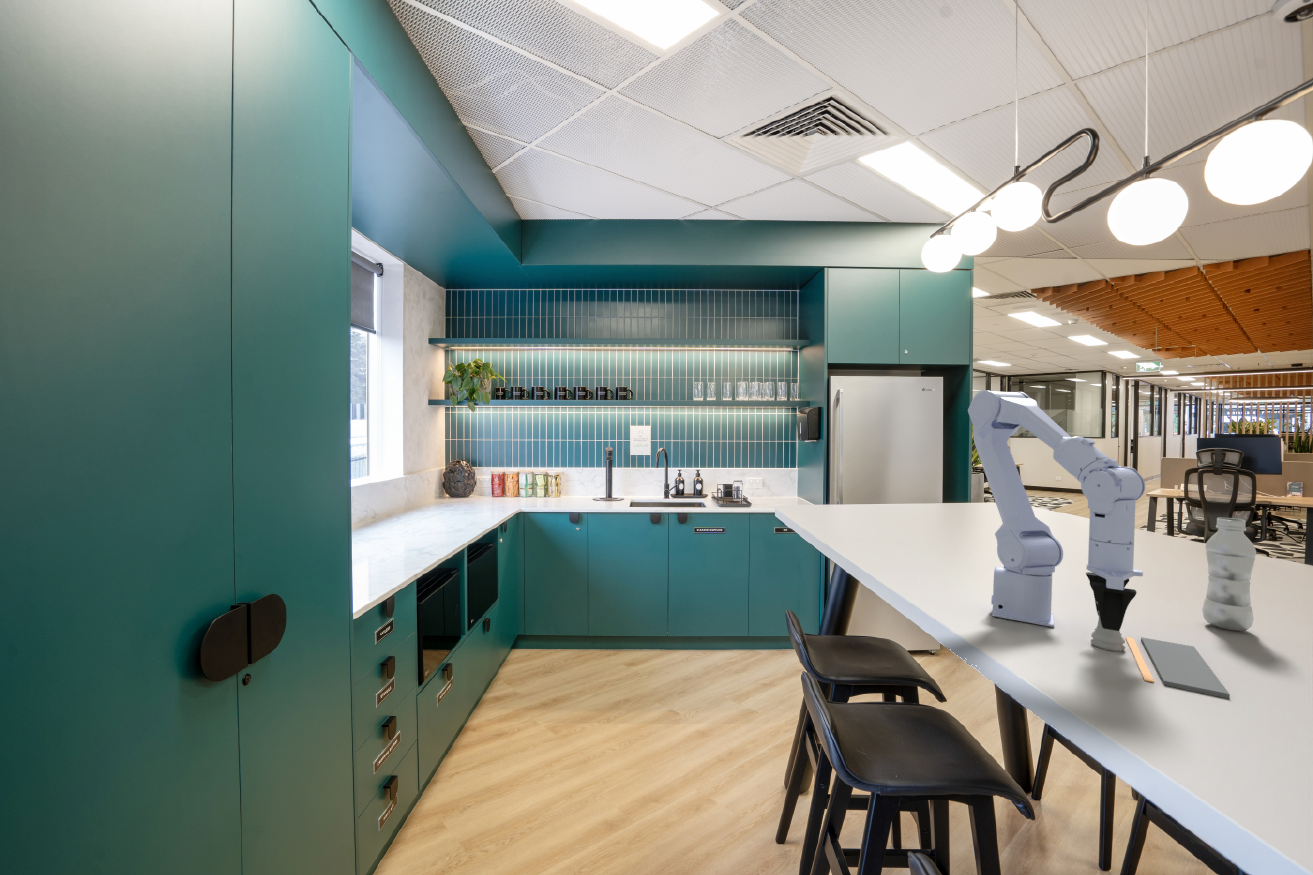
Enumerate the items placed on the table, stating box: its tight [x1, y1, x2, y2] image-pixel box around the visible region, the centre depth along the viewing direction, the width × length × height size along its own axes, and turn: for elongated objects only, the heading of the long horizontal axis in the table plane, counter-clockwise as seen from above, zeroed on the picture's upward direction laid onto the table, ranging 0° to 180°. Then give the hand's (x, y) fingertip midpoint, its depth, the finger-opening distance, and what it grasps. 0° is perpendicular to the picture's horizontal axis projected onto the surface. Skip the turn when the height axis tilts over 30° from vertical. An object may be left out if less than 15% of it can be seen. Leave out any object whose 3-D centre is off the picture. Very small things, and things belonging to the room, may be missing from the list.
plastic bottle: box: [1202, 517, 1257, 632], centre depth 100 cm, size 6×7×20 cm
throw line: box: [1125, 636, 1155, 683], centre depth 86 cm, size 1×20×1 cm, turn 146°
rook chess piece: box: [1090, 602, 1126, 652], centre depth 90 cm, size 4×4×8 cm
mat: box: [1140, 636, 1231, 699], centre depth 83 cm, size 6×20×1 cm, turn 145°
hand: (1108, 623), depth 90 cm, fingers open, 6 cm apart
